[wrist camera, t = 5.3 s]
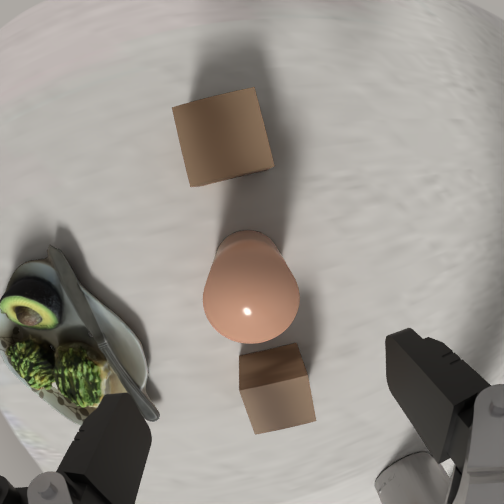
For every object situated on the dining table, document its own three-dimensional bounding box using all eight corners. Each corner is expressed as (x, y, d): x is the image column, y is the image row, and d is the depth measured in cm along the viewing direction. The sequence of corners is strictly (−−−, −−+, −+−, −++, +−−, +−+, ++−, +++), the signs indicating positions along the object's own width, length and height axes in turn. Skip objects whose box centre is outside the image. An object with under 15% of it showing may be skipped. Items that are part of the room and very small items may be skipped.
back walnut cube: (296, 342, 25) (307, 375, 20) (305, 385, 26) (316, 420, 22) (239, 355, 25) (239, 390, 21) (252, 397, 27) (255, 434, 22)
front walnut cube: (251, 107, 21) (254, 87, 16) (266, 170, 22) (274, 166, 17) (185, 123, 21) (171, 107, 16) (200, 186, 22) (190, 186, 17)
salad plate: (210, 361, 26) (205, 392, 21) (120, 446, 28) (109, 473, 24) (45, 219, 22) (13, 227, 18) (-6, 341, 25) (-28, 358, 20)
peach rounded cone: (288, 240, 23) (312, 268, 16) (269, 300, 24) (281, 352, 17) (224, 222, 23) (216, 241, 15) (207, 284, 24) (193, 330, 16)
